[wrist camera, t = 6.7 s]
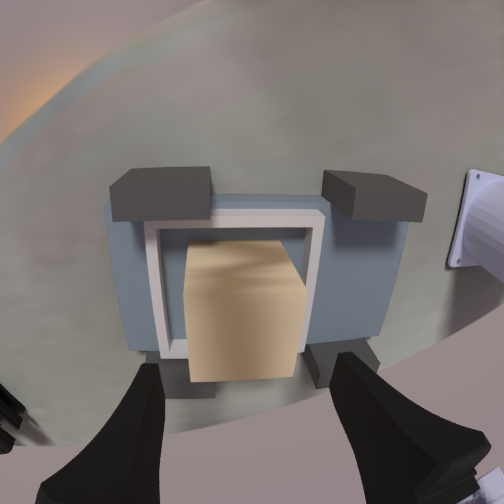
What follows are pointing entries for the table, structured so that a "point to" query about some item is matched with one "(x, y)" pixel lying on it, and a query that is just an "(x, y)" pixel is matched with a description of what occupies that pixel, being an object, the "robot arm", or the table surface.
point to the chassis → (258, 228)
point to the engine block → (242, 310)
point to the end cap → (9, 418)
